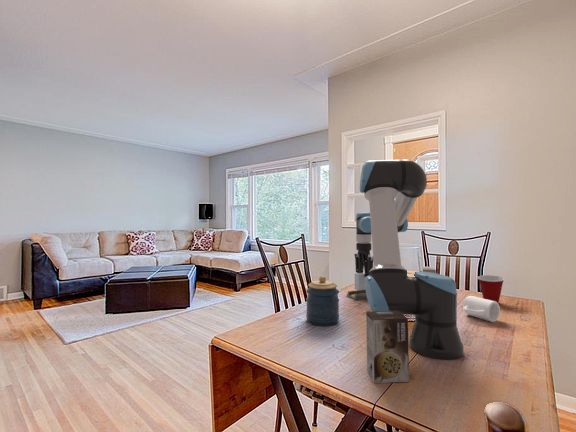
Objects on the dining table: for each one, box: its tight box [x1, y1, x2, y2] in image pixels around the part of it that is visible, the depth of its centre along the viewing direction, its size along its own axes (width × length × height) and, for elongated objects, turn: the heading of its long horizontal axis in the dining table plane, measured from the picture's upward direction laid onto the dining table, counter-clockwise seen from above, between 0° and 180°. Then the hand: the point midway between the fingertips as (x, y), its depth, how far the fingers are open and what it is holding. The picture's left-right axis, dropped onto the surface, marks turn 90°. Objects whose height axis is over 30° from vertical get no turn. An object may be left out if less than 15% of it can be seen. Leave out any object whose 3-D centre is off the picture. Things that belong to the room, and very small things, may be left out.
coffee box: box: [365, 310, 410, 384], centre depth 79 cm, size 9×6×16 cm
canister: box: [305, 275, 340, 327], centre depth 120 cm, size 13×13×18 cm
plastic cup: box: [476, 274, 505, 304], centre depth 144 cm, size 11×11×12 cm
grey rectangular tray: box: [346, 289, 368, 301], centre depth 156 cm, size 17×8×2 cm, turn 113°
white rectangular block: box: [354, 271, 366, 290], centre depth 156 cm, size 9×4×8 cm, turn 113°
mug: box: [462, 295, 501, 323], centre depth 121 cm, size 12×10×8 cm
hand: (364, 288), depth 156 cm, fingers closed on white rectangular block, 3 cm apart
